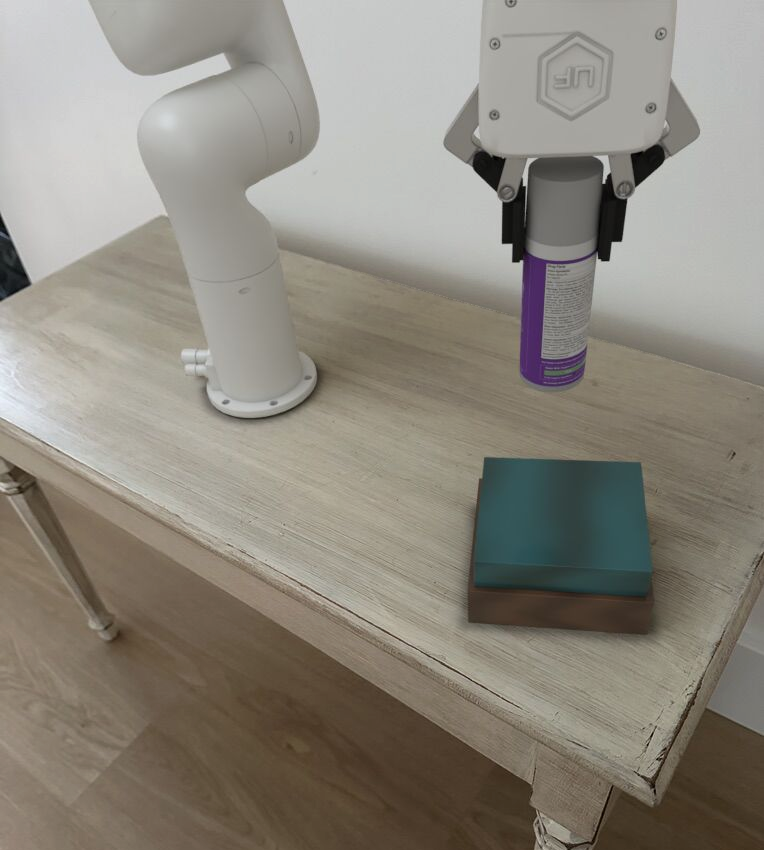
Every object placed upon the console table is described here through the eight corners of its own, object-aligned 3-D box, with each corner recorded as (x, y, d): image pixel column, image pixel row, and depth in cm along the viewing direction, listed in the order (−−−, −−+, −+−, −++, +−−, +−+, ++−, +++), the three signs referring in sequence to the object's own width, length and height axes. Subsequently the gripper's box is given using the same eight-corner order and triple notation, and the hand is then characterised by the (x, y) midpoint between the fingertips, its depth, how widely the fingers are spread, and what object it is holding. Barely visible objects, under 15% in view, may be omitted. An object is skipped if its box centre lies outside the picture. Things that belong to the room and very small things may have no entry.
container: (513, 359, 60) (518, 156, 49) (574, 351, 60) (593, 147, 49) (526, 396, 56) (535, 187, 46) (592, 388, 56) (616, 177, 46)
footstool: (468, 622, 65) (466, 566, 60) (479, 509, 73) (478, 452, 69) (646, 634, 62) (660, 577, 57) (635, 516, 71) (647, 458, 66)
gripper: (401, -68, 37) (423, 283, 50) (787, -102, 34) (705, 280, 47) (419, -96, 42) (435, 228, 55) (756, -128, 40) (690, 223, 52)
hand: (560, 249), depth 51 cm, fingers closed on container, 4 cm apart
